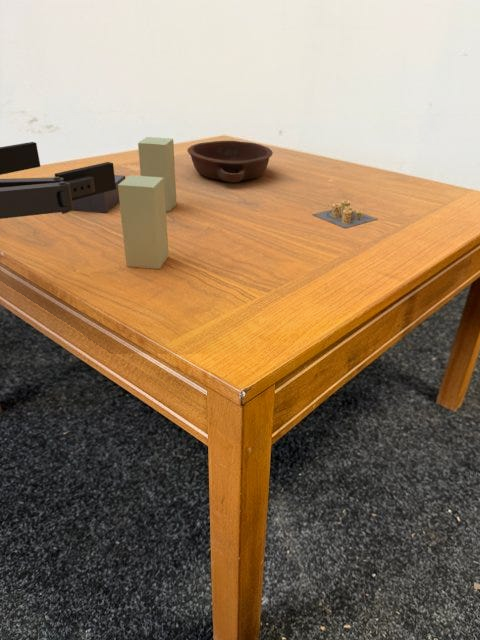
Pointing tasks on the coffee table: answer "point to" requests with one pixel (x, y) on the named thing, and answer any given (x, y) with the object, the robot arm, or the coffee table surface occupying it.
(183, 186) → the coffee table surface
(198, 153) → the dish
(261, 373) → the coffee table surface
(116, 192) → the socket block
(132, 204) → the tall olive green block
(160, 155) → the standing block
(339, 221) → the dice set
